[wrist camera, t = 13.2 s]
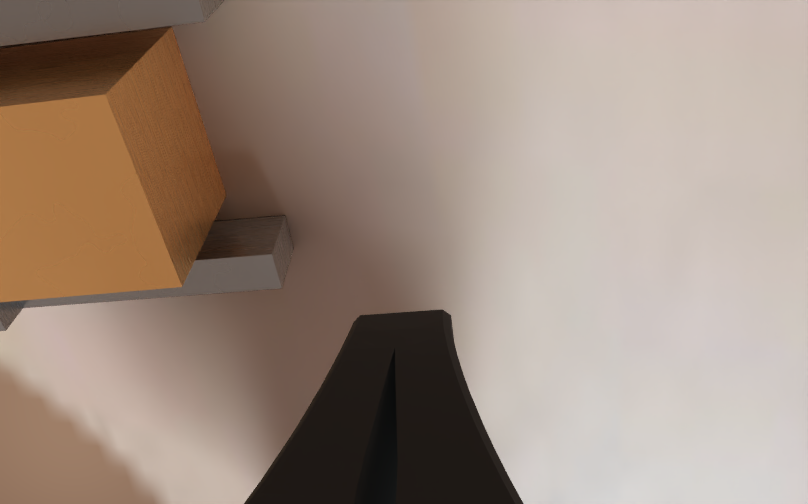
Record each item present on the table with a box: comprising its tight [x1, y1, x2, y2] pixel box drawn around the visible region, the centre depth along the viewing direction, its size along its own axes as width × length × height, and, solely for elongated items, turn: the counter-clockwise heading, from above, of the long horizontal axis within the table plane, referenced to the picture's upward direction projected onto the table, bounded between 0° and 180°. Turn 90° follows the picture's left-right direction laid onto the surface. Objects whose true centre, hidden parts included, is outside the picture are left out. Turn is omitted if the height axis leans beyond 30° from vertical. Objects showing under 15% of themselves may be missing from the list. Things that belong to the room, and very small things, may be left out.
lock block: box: [0, 27, 226, 302], centre depth 18 cm, size 6×5×4 cm
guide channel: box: [0, 0, 294, 331], centre depth 18 cm, size 10×9×3 cm
